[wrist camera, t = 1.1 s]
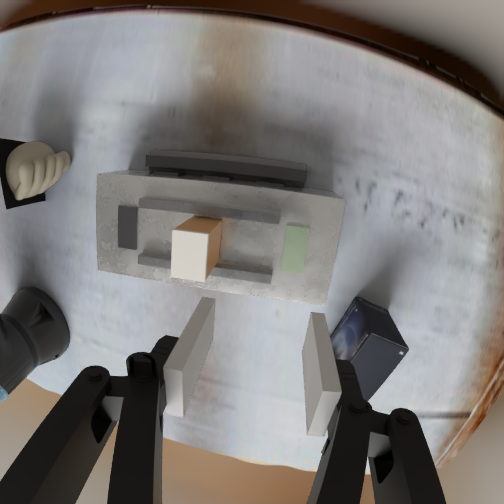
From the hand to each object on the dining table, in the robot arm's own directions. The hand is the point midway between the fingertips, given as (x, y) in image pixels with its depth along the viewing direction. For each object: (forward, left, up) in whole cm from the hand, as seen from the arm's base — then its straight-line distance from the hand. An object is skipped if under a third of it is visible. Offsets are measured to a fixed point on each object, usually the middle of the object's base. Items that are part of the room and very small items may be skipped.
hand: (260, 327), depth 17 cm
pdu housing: (-7, 0, -25) cm, 26 cm away
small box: (+14, -14, -25) cm, 32 cm away
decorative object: (-35, +6, -25) cm, 44 cm away
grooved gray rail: (-7, +7, -25) cm, 27 cm away
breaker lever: (-7, 0, -16) cm, 18 cm away
